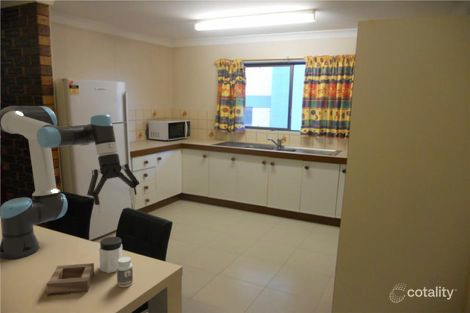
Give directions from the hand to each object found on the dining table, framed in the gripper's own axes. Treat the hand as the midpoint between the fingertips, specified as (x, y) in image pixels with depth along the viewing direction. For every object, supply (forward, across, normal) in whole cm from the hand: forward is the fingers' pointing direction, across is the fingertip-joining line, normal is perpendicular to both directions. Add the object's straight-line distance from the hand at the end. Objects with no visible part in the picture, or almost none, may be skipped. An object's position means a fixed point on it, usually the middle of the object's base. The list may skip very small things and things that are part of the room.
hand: (118, 208), depth 126 cm
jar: (+25, -2, +13) cm, 28 cm away
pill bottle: (+28, -4, -1) cm, 29 cm away
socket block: (+24, -18, +11) cm, 32 cm away
